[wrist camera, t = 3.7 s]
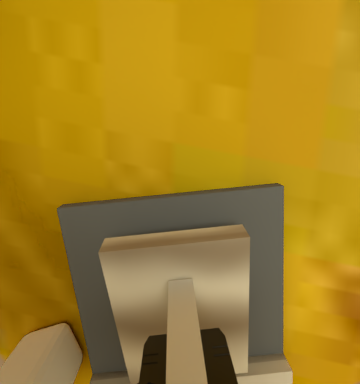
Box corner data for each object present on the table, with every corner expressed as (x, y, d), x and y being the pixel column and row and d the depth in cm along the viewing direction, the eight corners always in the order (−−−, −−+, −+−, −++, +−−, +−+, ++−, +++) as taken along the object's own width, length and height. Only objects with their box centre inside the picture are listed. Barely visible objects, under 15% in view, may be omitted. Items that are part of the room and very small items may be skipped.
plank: (105, 238, 16) (98, 252, 14) (242, 224, 16) (250, 237, 14) (133, 363, 20) (130, 385, 18) (241, 352, 20) (247, 372, 18)
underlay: (63, 204, 18) (44, 215, 15) (277, 183, 18) (295, 190, 15) (110, 428, 23) (102, 464, 20) (278, 409, 23) (291, 443, 20)
